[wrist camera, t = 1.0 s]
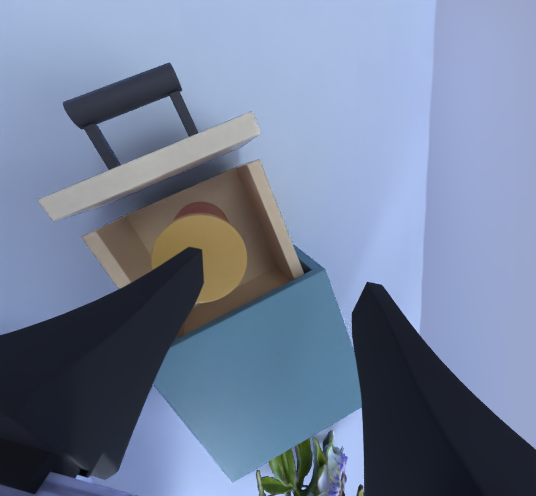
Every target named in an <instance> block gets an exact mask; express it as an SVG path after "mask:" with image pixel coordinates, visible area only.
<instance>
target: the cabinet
mask: <svg viewBox="0 0 536 496" xmlns="http://www.w3.org/2000/svg"><path fill="white" fill-rule="evenodd" d="M293 247H294V249H295V252H296V254H297V257H298V259H299V262H300V264H301V267H302V270H303V272H304V275H302V276H300V277H298V278H296V279H294V280H292V281H290V282H288V283H286V284H284V285H282V286H280V287H278V288H276V289H274V290H272V291H270V292H268V293H266V294H264V295H262V296H260V297H258V298H256V299H254V300H252V301H250V302H248V303H246V304H244V305H242V306H240V307H238V308H236V309H234V310H232V311H230V312H228V313H226V314H224V315H222V316H220V317H218V318H216V319H214V320H212V321H210V322H208V323H206V324H204V325H202V326H200V327H198V328H196V329H194V330H192V331H190V332H188V333H186V334H184V335H182V336H180V337H178V338H176V339H174V341H173V343H172V345H171V346H170V348H169V350H168V352H167V354H166V356H165V358H164V360H163V363H162V365H161V367H160V369H159V371H158V373H157V376H156V378H155V380H154V382H153V385H154V386H155V387H156V388H157V390H158V391H159V392H160V393H161V395H162V396H163V397H164V398H165V400H166V401H167V402H168V403H169V405H170V406H171V407H172V408H173V410H174V411H175V412H176V413H177V415H178V416H179V417H180V418H181V420H182V421H183V422H184V423H185V425H186V426H187V427H188V428H189V430H190V431H191V432H192V433H193V435H194V436H195V437H196V438H197V440H198V441H199V442H200V443H201V445H202V446H203V447H204V448H205V450H206V451H207V452H208V453H209V455H210V456H211V457H212V458H213V460H214V461H215V462H216V463H217V465H218V466H219V467H220V468H221V470H222V471H223V472H224V473H225V475H226V476H227V477H228V478H229V480H230V481H231V482H232V483H233V482H234V481H236V480H238V479H240V478H241V477H243V476H245V475H246V474H248V473H250V472H252V471H253V470H255V469H257V468H258V467H260V466H262V465H264V464H265V463H267V462H269V461H270V460H272V459H274V458H275V457H277V456H279V455H281V454H282V453H284V452H286V451H287V450H289V449H291V448H293V447H294V446H296V445H298V444H299V443H301V442H303V441H305V440H306V439H308V438H310V437H311V436H313V435H315V434H317V433H318V432H320V431H322V430H323V429H325V428H327V427H329V426H330V425H332V424H334V423H335V422H337V421H339V420H341V419H342V418H344V417H346V416H347V415H349V414H351V413H353V412H354V411H356V410H358V409H359V408H361V407H362V401H361V392H360V384H359V378H358V371H357V365H356V358H355V353H354V350H353V347H352V344H351V341H350V338H349V335H348V333H347V330H346V327H345V324H344V321H343V318H342V316H341V313H340V310H339V307H338V304H337V301H336V299H335V296H334V293H333V290H332V287H331V284H330V281H329V279H328V276H327V273H326V270H325V269H324V268H323V267H322V266H320V265H319V264H318V263H317V262H315V261H314V260H313V259H311V258H310V257H309V256H307V255H306V254H305V253H304V252H302V251H301V250H300V249H298V248H297V247H296V246H295V245H293Z"/></svg>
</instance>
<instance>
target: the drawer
mask: <svg viewBox="0 0 536 496" xmlns="http://www.w3.org/2000/svg"><path fill="white" fill-rule="evenodd" d="M180 91H182V88H181V85H180V83H179V80H178V78H177V76H176V73H175V71H174V69H173V67H172V65H171V63H166V64H164V65H161V66H158V67H156V68H153V69H150V70H148V71H145V72H142V73H140V74H137V75H134V76H132V77H129V78H126V79H124V80H121V81H118V82H116V83H113V84H110V85H108V86H105V87H102V88H100V89H97V90H94V91H92V92H89V93H86V94H84V95H81V96H78V97H76V98H73V99H70V100H68V101H65V102H63V106H64V109H65V111H66V112H67V114H68V116H69V117H70V118H71V120H72V121H73V122H74V123H75V124H76V125H77V126H78V127H79V128H80V129H84V130H85V132H86V133H87V135H88V136H89V138H90V140H91V141H92V143H93V145H94V146H95V148H96V149H97V151H98V153H99V154H100V156H101V158H102V159H103V161H104V162H105V164H106V166H107V167H108V169H109V170H108V171H106V172H103V173H101V174H98V175H96V176H93V177H91V178H89V179H86V180H84V181H81V182H79V183H77V184H74V185H72V186H69V187H67V188H64V189H62V190H60V191H57V192H55V193H52V194H50V195H47V196H45V197H43V198H40V199H38V202H39V203H40V205H41V206H42V207H43V209H44V210H45V211H46V213H47V214H48V215H49V217H50V218H51V219H52V221H57V220H60V219H64V218H67V217H70V216H73V215H76V214H80V213H83V212H86V211H89V210H93V209H96V208H99V207H102V206H105V205H107V204H110V203H112V202H114V201H117V200H119V199H121V198H124V197H126V196H128V195H131V194H133V193H135V192H138V191H140V190H142V189H145V188H147V187H149V186H152V185H154V184H156V183H159V182H161V181H163V180H166V179H168V178H170V177H173V176H175V175H177V174H180V173H182V172H184V171H187V170H189V169H191V168H194V167H196V166H199V165H201V164H203V163H206V162H208V161H210V160H213V159H215V158H217V157H220V156H222V155H224V154H227V153H229V152H231V151H234V150H236V149H238V148H241V147H243V146H244V145H246V144H247V143H248V142H250V141H251V140H252V139H254V138H255V137H256V136H258V135H259V134H260V133H261V132H260V129H259V126H258V124H257V121H256V118H255V116H254V113H253V112H252V111H251V112H249V113H246V114H244V115H241V116H239V117H236V118H234V119H232V120H229V121H227V122H224V123H222V124H219V125H217V126H215V127H212V128H210V129H207V130H205V131H203V132H200V133H198V131H197V129H196V127H195V124H194V122H193V120H192V118H191V116H190V113H189V111H188V109H187V107H186V105H185V103H184V100H183V98H182V96H181V94H180ZM168 96H170V98H171V100H172V102H173V104H174V106H175V108H176V110H177V112H178V114H179V117H180V119H181V121H182V123H183V125H184V127H185V129H186V131H187V133H188V136H189V137H188V138H186V139H183V140H181V141H178V142H176V143H173V144H171V145H169V146H166V147H164V148H161V149H159V150H156V151H154V152H152V153H149V154H147V155H144V156H142V157H140V158H137V159H135V160H132V161H130V162H127V163H125V164H123V165H121V164H120V163H119V161H118V159H117V157H116V156H115V154H114V152H113V151H112V149H111V147H110V146H109V144H108V142H107V141H106V139H105V137H104V136H103V134H102V132H101V130H100V129H99V127H98V126H97V125H96V124H98V123H101V122H103V121H106V120H109V119H111V118H114V117H116V116H119V115H121V114H124V113H127V112H129V111H132V110H134V109H137V108H139V107H142V106H144V105H147V104H150V103H152V102H155V101H157V100H160V99H162V98H165V97H168ZM194 202H207V203H211V204H213V205H215V206H217V207H218V208H220V209H221V210H222V211H223V212H224V214H225V215H226V217H227V219H228V220H229V222H230V224H231V225H232V226H233V227H234V228H235V229H236V230H237V231H238V233H239V234H240V236H241V238H242V239H243V241H244V244H245V246H246V251H247V266H246V270H245V273H244V276H243V278H242V280H241V281H240V283H239V284H238V285H237V286H236V288H235V289H233V290H232V291H231V292H230V293H229V294H227V295H226V296H224V297H222V298H220V299H218V300H215V301H212V302H207V303H195V305H194V307H193V308H192V310H191V312H190V314H189V315H188V317H187V319H186V321H185V322H184V324H183V326H182V327H181V329H180V331H179V333H178V334H177V336H176V338H178V337H180V336H182V335H184V334H186V333H188V332H190V331H192V330H194V329H196V328H198V327H200V326H202V325H204V324H206V323H208V322H210V321H212V320H214V319H216V318H218V317H220V316H222V315H224V314H226V313H228V312H230V311H232V310H234V309H236V308H238V307H240V306H242V305H244V304H246V303H248V302H250V301H252V300H254V299H256V298H258V297H260V296H262V295H264V294H266V293H268V292H270V291H272V290H274V289H276V288H278V287H280V286H282V285H284V284H286V283H288V282H290V281H292V280H294V279H296V278H298V277H300V276H302V275H304V272H303V270H302V267H301V264H300V262H299V259H298V257H297V254H296V252H295V249H294V247H293V244H292V241H291V239H290V236H289V234H288V231H287V229H286V226H285V223H284V221H283V218H282V216H281V213H280V211H279V208H278V206H277V203H276V200H275V198H274V195H273V193H272V190H271V188H270V185H269V183H268V180H267V177H266V175H265V172H264V170H263V167H262V165H261V162H260V160H259V159H258V160H255V161H251V162H248V163H244V164H242V165H239V166H237V167H235V168H232V169H230V170H228V171H225V172H223V173H221V174H219V175H216V176H214V177H212V178H209V179H207V180H205V181H203V182H200V183H198V184H196V185H193V186H191V187H189V188H186V189H184V190H182V191H180V192H177V193H175V194H173V195H170V196H168V197H166V198H164V199H161V200H159V201H157V202H154V203H152V204H150V205H147V206H145V207H143V208H141V209H138V210H136V211H134V212H131V213H129V214H127V215H125V216H122V217H120V218H118V219H116V220H114V221H112V222H110V223H108V224H106V225H104V226H102V227H100V228H98V229H96V230H94V231H92V232H90V233H88V234H86V235H84V236H82V239H83V240H84V242H85V243H86V244H87V246H88V247H89V249H90V250H91V251H92V253H93V254H94V255H95V257H96V258H97V260H98V261H99V262H100V264H101V265H102V266H103V268H104V269H105V271H106V272H107V273H108V275H109V276H110V277H111V279H112V280H113V282H114V283H115V284H116V286H117V287H118V289H121V288H122V287H124V286H126V285H128V284H130V283H131V282H133V281H135V280H137V279H138V278H140V277H142V276H144V275H145V274H147V273H149V272H150V271H152V266H151V253H152V248H153V245H154V243H155V241H156V239H157V237H158V236H159V234H160V233H161V232H162V230H163V229H164V228H165V227H166V226H167V225H168V224H169V223H171V222H172V221H173V219H174V218H175V216H176V215H177V214H178V212H179V211H180V210H181V209H182V208H183V207H185V206H186V205H188V204H191V203H194ZM176 338H175V339H176Z"/></svg>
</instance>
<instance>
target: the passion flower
mask: <svg viewBox="0 0 536 496" xmlns="http://www.w3.org/2000/svg"><path fill="white" fill-rule="evenodd" d="M312 439H313V445H314V450H313V453H314V460H313V462H314V469H313V475H312V479H311V482H310V484H309V486H308V485H303V481H304V477H305V476H306V475H307V474H308V473H309V471H310V469H311V466H312V452H311V449H310V441H309V438H308V439H306V440H305V441H303V442H301V443H299V444H298V445H296V446H295V451H296V456H297V471H296V466H295V461H294V458H293V454H292V451H291V449H289V450H287V451H286V452H284V453H282V454H281V455H279V456H277V457H275V458H274V459H272V460H270V461H269V465H270V468H271V470H272V473H273V474H274V476H275V478H276V479H275V478H273V477H269V476H266V477H261V476H260V471H259V470H257V472H256V478H257V484H258V490H259V496H266V494H265V493H264V490H265V491H266V492H268V493H270V494H272V495H268V496H274V495H277V494H285V496H291V491H292V492H293V494H294V496H345V494H344V484H345V483H346V481H347V478H346V475H345V469H346V461H347V458H348V457H347V456H345V454H343V450H342V448H341V451H342V452H341V451H340V449H339V448H338V447H334V446H333V443H334V431H333V430H331V431H330V432H329V433H328V435H327V437H326V438H325V439H324V441H323V451H321V448H320V446H319V442H318V441H317V440H316V438H315V437H312ZM343 449H344V448H343ZM302 487H306V489H304V490H302V489H301V488H302ZM357 496H364V490H363V486H362V485H361V484H360V485H359V487H358V491H357Z"/></svg>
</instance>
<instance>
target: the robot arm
mask: <svg viewBox="0 0 536 496" xmlns="http://www.w3.org/2000/svg"><path fill="white" fill-rule="evenodd" d="M203 284H204V272H203V254H202V249H199V248H194V247H188V248H186V249H184V250H183V251H181V252H180V253H178V254H177V255H175V256H174V257H172V258H171V259H169V260H168V261H166V262H165V263H163V264H161V265H160V266H158V267H157V268H155V269H154V270H152V271H150V272H149V273H147V274H145V275H144V276H142V277H140V278H138V279H137V280H135V281H133V282H131V283H130V284H128V285H126V286H124V287H122V288H121V289H119V290H117V291H115V292H113V293H111V294H109V295H106V296H104V297H102V298H100V299H98V300H96V301H94V302H91V303H89V304H87V305H84V306H82V307H79V308H77V309H74V310H72V311H70V312H67V313H65V314H62V315H60V316H57V317H54V318H52V319H49V320H46V321H43V322H40V323H38V324H35V325H32V326H29V327H26V328H23V329H20V330H17V331H13V332H10V333H7V334H3V335H0V496H136V495H132V494H129V493H125V492H122V491H118V490H114V489H111V488H107V487H104V486H100V485H96V484H93V483H92V482H93V478H91V477H89V476H94V477H98V478H101V479H107V478H109V477H111V476H112V475H114V474H115V473H116V472H117V471H118V470H119V467H120V465H121V462H122V459H123V457H124V454H125V451H126V449H127V446H128V443H129V441H130V438H131V436H132V433H133V430H134V428H135V425H136V423H137V420H138V418H139V416H140V413H141V411H142V408H143V406H144V403H145V401H146V399H147V396H148V394H149V392H150V389H151V387H152V385H153V382H154V380H155V378H156V376H157V373H158V371H159V369H160V367H161V365H162V363H163V360H164V358H165V356H166V354H167V352H168V350H169V348H170V346H171V345H172V343H173V341H174V339H175V338H176V336H177V334H178V333H179V331H180V329H181V327H182V326H183V324H184V322H185V321H186V319H187V317H188V315H189V314H190V312H191V310H192V308H193V307H194V305H195V303H196V301H197V299H198V296H199V294H200V292H201V289H202V287H203ZM352 338H353V345H354V352H355V358H356V365H357V371H358V378H359V384H360V392H361V401H362V419H363V443H364V496H536V450H535V449H534V448H533V447H532V446H531V445H530V444H529V443H527V442H526V441H525V440H524V439H523V438H521V437H520V436H519V435H518V434H517V433H516V432H515V431H513V430H512V429H511V428H510V427H509V426H508V425H506V424H505V423H504V422H503V421H502V420H501V419H500V418H499V417H498V416H496V415H495V414H494V413H493V412H492V411H491V410H490V409H489V408H488V407H487V406H486V405H485V404H484V403H483V402H481V401H480V400H479V399H478V398H477V397H476V396H475V395H474V394H473V393H472V392H471V391H470V390H469V389H468V388H467V387H466V386H465V385H464V384H463V383H462V382H461V381H460V380H459V379H458V378H457V377H456V376H455V375H454V374H453V373H452V372H451V371H450V369H449V368H448V367H447V366H446V365H445V364H444V363H443V362H442V361H441V360H440V359H439V358H438V356H437V355H436V354H435V353H434V352H433V351H432V349H431V348H430V347H429V346H428V345H427V344H426V342H425V341H424V340H423V339H422V338H421V336H420V335H419V334H418V333H417V331H416V330H415V329H414V327H413V326H412V325H411V324H410V322H409V321H408V320H407V318H406V317H405V316H404V314H403V313H402V312H401V310H400V309H399V307H398V306H397V305H396V303H395V302H394V301H393V299H392V298H391V296H390V295H389V294H388V292H387V291H386V290H385V288H384V287H383V286H382V285H380V284H375V283H370V282H367V283H366V285H365V287H364V289H363V291H362V294H361V296H360V298H359V300H358V302H357V304H356V306H355V308H354V310H353V312H352Z"/></svg>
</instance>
